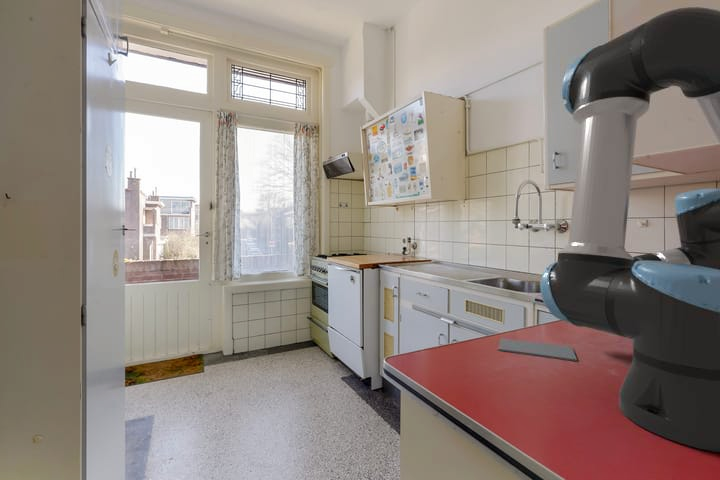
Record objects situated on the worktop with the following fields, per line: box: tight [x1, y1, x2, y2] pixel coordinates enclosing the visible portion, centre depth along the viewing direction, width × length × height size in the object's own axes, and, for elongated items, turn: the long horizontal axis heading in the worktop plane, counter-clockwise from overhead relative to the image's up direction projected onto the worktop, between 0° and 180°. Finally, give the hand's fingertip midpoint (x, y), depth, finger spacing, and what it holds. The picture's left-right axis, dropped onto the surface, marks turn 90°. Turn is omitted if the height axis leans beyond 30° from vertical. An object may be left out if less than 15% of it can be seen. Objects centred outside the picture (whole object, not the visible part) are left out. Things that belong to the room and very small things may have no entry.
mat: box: [497, 337, 578, 362], centre depth 80 cm, size 9×16×1 cm, turn 63°
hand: (550, 288), depth 81 cm, fingers closed on block, 5 cm apart
